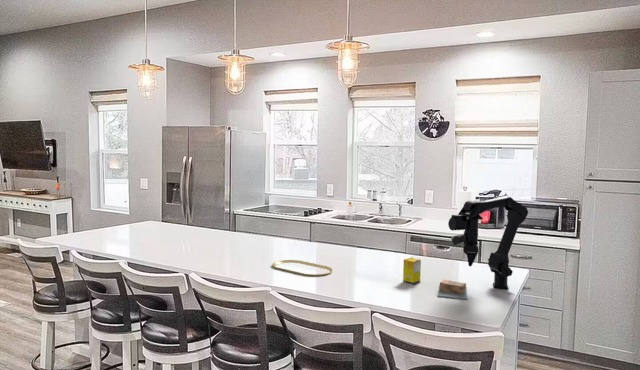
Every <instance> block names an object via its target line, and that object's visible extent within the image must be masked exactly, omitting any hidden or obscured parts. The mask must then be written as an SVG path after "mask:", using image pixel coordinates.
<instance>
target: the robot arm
mask: <svg viewBox="0 0 640 370" xmlns="http://www.w3.org/2000/svg"><path fill="white" fill-rule="evenodd" d="M502 207H503V208H504V210H505V211H507V214H506V217H507V224H506V226H505V229H504V231H503V233H502V237H501V239H500V242H499V245H498V247H497V250H496V251H495V252H490V255H489V258H487V261H488V263H487V265H488V267H489V269H490V272H491V273H494V278H493V282H492V287H493V288H494V289H503V290H509V285H508V277H511V276H512V275H513V270H512V269H511V267H509V263H510V258H509V252H510V250H511V247H512V245H513V243H514V239H515V237H516V235H517V232H518V229H519V226H521V224H522V223H523V222H525V220H526V218H527V217H528V214H529V210H528V208H527V206H525V205H523V204H521V203H520V202H518V201H516V200H515V199H513V197H511V196H507V195H502V196H499V197H495V198H491V199H486V200H467V201H465V202H464V203H463V206H462V207H461V209H460V211H459V212H458V214H452V215H451V217H450V218H449V220H448V228H449V229H450V230H451V231H463V233H462V234H457V235H453V236H451V238H450V239H451V240H450V241H451V243H452V245H453V246H457V245H458V244H462V243H463V253H464V254H465V255H466V257H467V264H468V267H472V266H473V264H474V262H475V260H476V258H477V256H478V254H479V245H478V244H479V241H478V239H479V238H478V237H479V220H480V221H481V220H483V219H484V218H483V217H482V216H481V214H483V213H484V212H486V211H488V210H493V209H498V208H502Z"/></svg>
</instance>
